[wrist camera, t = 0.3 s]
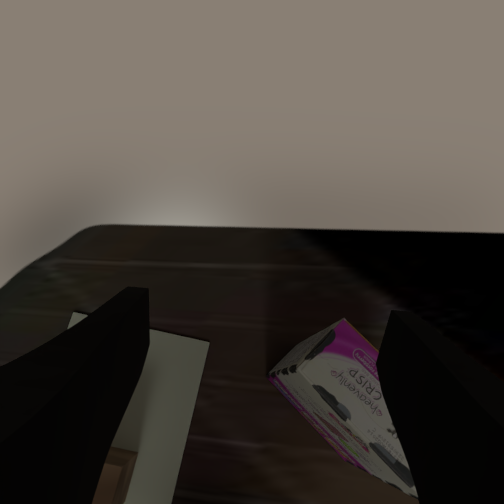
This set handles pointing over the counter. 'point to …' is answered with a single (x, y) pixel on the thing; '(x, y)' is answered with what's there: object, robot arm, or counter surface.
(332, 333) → the candy bar box
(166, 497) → the cream board
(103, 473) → the walnut block
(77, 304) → the counter surface
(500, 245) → the counter surface
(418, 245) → the counter surface
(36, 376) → the robot arm
